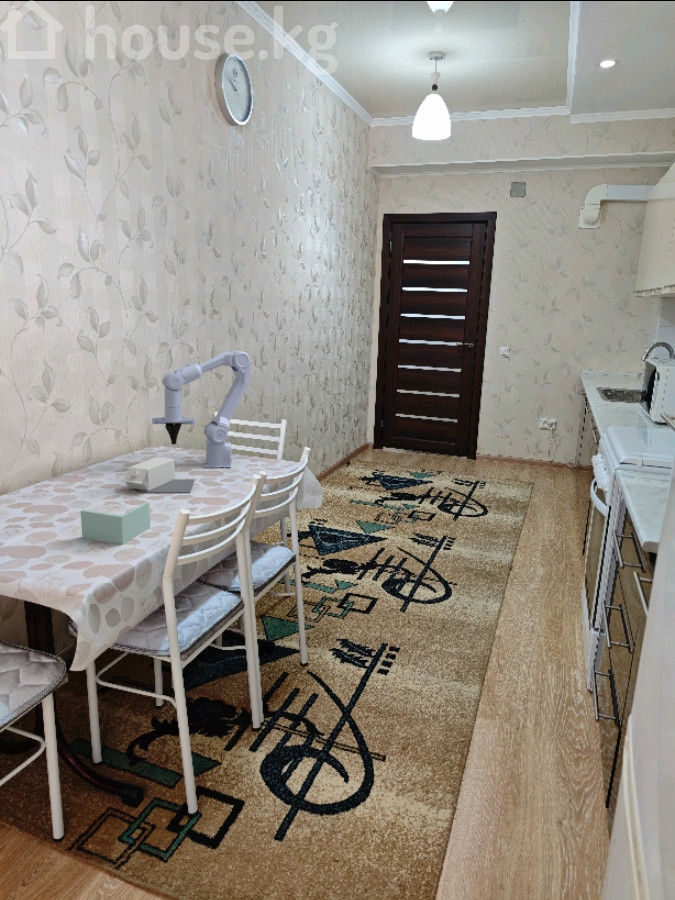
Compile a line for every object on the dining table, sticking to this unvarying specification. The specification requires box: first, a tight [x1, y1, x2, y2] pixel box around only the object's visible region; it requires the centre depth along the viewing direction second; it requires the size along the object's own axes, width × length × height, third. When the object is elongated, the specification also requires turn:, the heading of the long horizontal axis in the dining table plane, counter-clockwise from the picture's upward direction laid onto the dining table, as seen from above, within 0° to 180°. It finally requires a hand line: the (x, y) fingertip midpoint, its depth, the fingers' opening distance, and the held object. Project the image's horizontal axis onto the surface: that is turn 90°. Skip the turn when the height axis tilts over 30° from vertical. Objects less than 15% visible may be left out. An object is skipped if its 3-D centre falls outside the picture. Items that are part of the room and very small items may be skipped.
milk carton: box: [121, 456, 176, 491], centre depth 194 cm, size 7×7×19 cm
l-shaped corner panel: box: [80, 501, 151, 545], centre depth 155 cm, size 12×12×8 cm
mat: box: [137, 478, 195, 494], centre depth 195 cm, size 16×14×1 cm
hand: (174, 443), depth 214 cm, fingers closed
